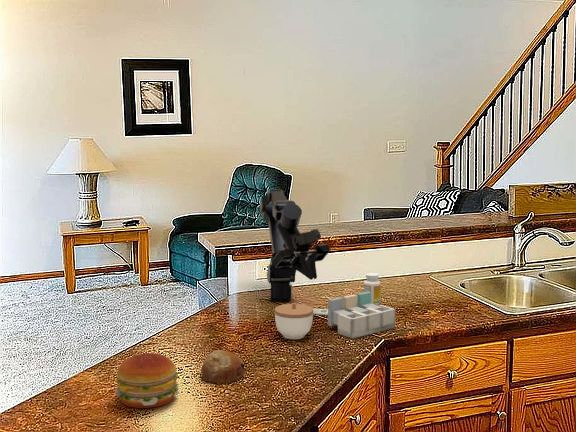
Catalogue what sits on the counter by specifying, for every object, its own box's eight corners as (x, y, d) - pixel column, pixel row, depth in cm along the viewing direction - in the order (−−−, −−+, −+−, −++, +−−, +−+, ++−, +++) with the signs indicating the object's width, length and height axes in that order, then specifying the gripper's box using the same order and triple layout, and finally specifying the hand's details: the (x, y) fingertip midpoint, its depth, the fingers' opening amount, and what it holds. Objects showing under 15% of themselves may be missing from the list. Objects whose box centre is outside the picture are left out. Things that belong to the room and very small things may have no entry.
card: (302, 313, 218) (302, 312, 218) (304, 309, 223) (304, 307, 223) (328, 315, 217) (328, 313, 217) (329, 310, 222) (329, 308, 222)
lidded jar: (317, 332, 200) (318, 300, 199) (306, 344, 190) (306, 310, 189) (282, 328, 204) (282, 296, 202) (268, 339, 194) (269, 306, 192)
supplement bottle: (379, 301, 233) (380, 272, 231) (380, 305, 228) (381, 276, 226) (363, 300, 233) (363, 272, 232) (363, 305, 228) (364, 275, 227)
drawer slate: (327, 325, 204) (328, 299, 202) (339, 322, 206) (339, 297, 205) (343, 330, 198) (344, 304, 197) (355, 328, 201) (355, 302, 200)
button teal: (356, 318, 210) (356, 293, 209) (367, 315, 213) (367, 291, 212) (372, 323, 205) (373, 298, 204) (383, 321, 208) (383, 296, 207)
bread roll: (209, 382, 172) (195, 354, 171) (247, 364, 173) (233, 336, 171) (208, 399, 163) (193, 369, 161) (249, 379, 163) (234, 350, 161)
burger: (111, 414, 146) (110, 368, 144) (119, 389, 159) (117, 346, 158) (178, 411, 147) (177, 365, 146) (179, 386, 161) (178, 344, 159)
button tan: (342, 321, 207) (342, 296, 206) (353, 319, 210) (353, 294, 209) (358, 327, 202) (358, 301, 201) (369, 324, 204) (370, 299, 203)
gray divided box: (337, 333, 199) (338, 314, 199) (380, 322, 210) (380, 304, 209) (352, 338, 195) (352, 319, 194) (395, 327, 205) (395, 309, 204)
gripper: (278, 223, 206) (301, 267, 199) (327, 218, 218) (350, 259, 211) (262, 245, 214) (284, 289, 207) (310, 239, 225) (332, 280, 218)
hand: (314, 278), depth 210 cm, fingers closed
